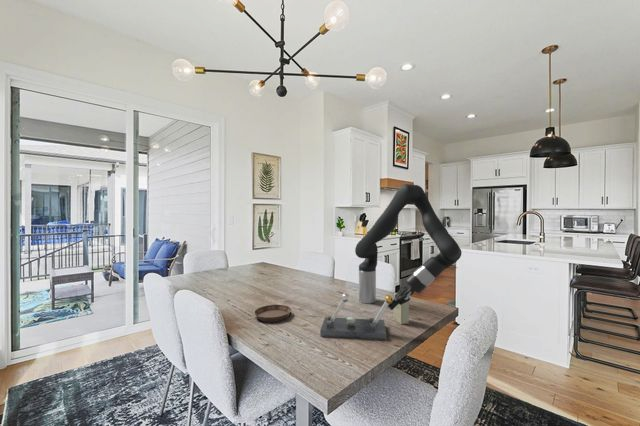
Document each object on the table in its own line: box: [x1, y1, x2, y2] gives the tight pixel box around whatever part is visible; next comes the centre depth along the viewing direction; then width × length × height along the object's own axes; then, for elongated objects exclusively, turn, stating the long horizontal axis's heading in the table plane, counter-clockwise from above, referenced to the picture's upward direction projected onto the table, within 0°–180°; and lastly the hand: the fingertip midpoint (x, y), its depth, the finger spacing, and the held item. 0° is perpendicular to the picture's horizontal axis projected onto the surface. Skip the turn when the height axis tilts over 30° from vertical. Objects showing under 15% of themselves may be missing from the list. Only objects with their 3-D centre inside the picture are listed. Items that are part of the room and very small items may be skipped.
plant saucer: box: [253, 304, 292, 323], centre depth 142 cm, size 18×18×3 cm
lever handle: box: [372, 294, 394, 326], centre depth 122 cm, size 4×3×14 cm
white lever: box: [330, 292, 350, 323], centre depth 125 cm, size 4×3×14 cm
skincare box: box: [392, 292, 410, 325], centre depth 134 cm, size 6×4×12 cm
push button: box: [346, 316, 356, 325], centre depth 124 cm, size 4×4×2 cm
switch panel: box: [319, 315, 387, 341], centre depth 124 cm, size 14×26×4 cm, turn 81°
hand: (389, 307), depth 122 cm, fingers closed
